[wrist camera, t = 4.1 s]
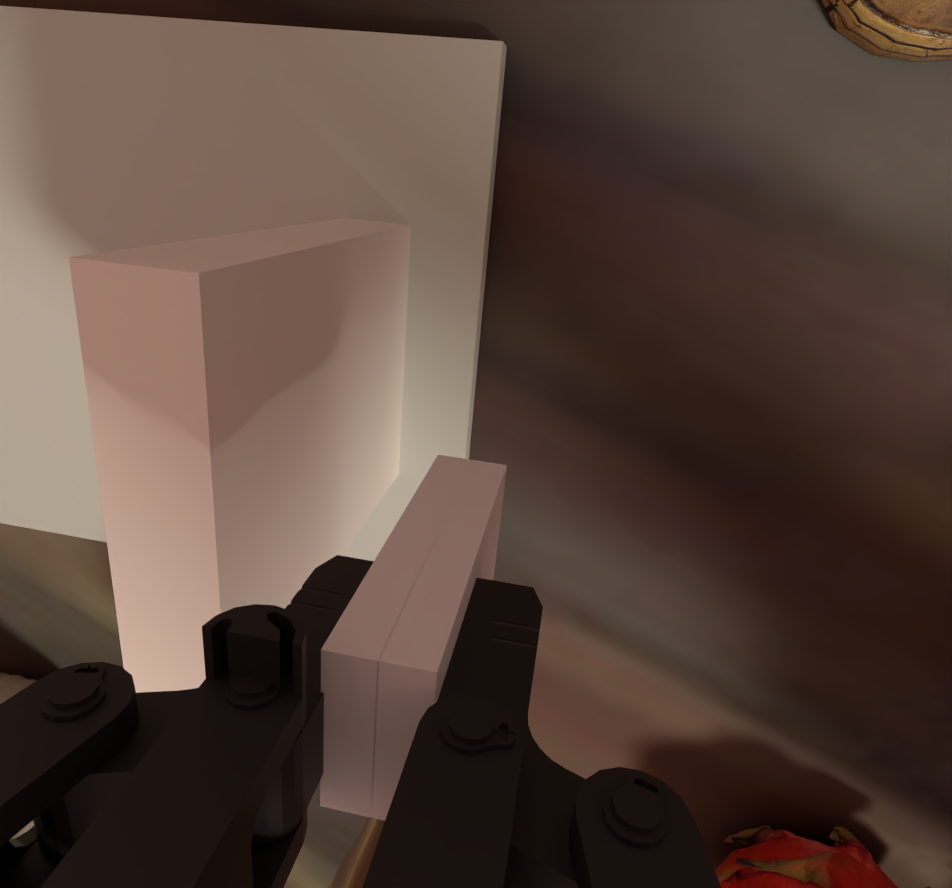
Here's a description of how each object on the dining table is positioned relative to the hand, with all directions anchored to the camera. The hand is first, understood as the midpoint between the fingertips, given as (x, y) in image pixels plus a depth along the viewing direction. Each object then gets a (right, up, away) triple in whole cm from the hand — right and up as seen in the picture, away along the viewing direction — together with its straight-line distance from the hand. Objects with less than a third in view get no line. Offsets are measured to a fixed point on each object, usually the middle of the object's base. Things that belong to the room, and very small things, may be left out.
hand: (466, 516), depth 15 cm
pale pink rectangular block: (-4, +5, +12) cm, 13 cm away
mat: (-11, +7, +14) cm, 19 cm away
